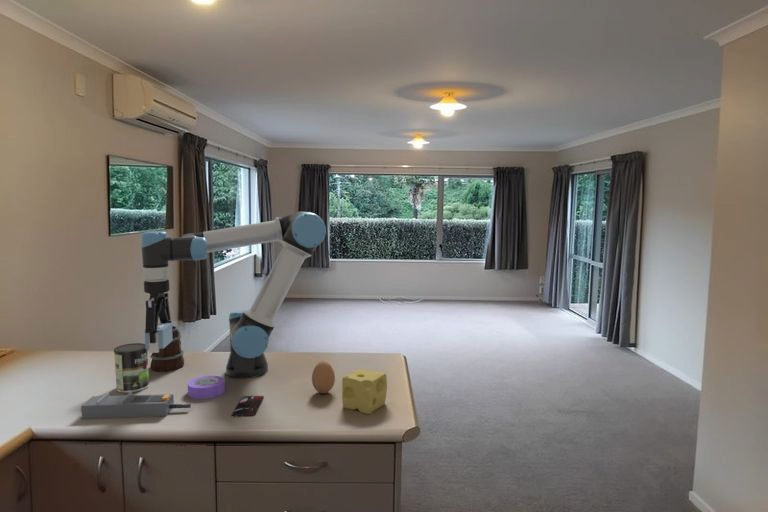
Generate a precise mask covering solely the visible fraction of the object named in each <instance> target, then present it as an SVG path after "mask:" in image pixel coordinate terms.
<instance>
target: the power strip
mask: <svg viewBox="0 0 768 512" xmlns="http://www.w3.org/2000/svg"><path fill="white" fill-rule="evenodd" d="M174 400H175V398H174V394H173V393H171V394H170V393H168V394H166V393H165V394H163V393H162V394H160V393H159V394H135V395H133V392H130V393H127V394H126V395H110V392H107V393H105V394H103V396H102V395H96V396H93V395H92V396H91V397H90V398H88V399H87V400H86V401H85V402H84V403H83V404H82V405H80V407H81V408H80V409H81V411H80V412H81V420H84V419H85V420H90V419H94V420H95V419H118V418H120V419H123V418H147V417H149V418H150V417H153V418H154V417H167V416H168V415H169V414H170V412H171V411H172V410H173V409H191V407H192V403H175V401H174Z"/></svg>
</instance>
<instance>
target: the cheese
mask: <svg viewBox="0 0 768 512" xmlns="http://www.w3.org/2000/svg"><path fill="white" fill-rule="evenodd" d="M387 377H388V376H387V374H386V373H385V372H379V371H372V370H369V369H368V370H367V369H364V368H358V369H356V370H354V371H353V372H351V373H350V374H346V375H345V376H343V377H342V380H341V381H342V382H341V384H342V385H341V386H342V387H341V388H342V389H341V390H342V391H341V393H342V397H341V399H342V401H341V402H342V407H343V408H346V409H348V410H353V411H355V410H359V412H360V413H363V414H365V415H370V414H372V413H373V412H374V411H376V410H377V409H379V408H380V407H383V406H384V405H385V404H386V400H387V399H386V398H387V392H388V391H387V389H388V380H387Z"/></svg>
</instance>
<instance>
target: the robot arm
mask: <svg viewBox="0 0 768 512" xmlns="http://www.w3.org/2000/svg"><path fill="white" fill-rule="evenodd" d="M326 227H327V226H326V224H325V222H324V220H323V219H322V217H320V216H319V215H318V214H316V213H313V212H311V211H304V210H301V211H297V212H293V213H290V214H287V215H282V216H277V217H275V219H274V220H269V221H262V222H257V223H249V224H243V225H239V226H233V227H225V228H219V229H213V230H208V231H207V230H206V231H203V232H195V233H191V232H190V233H184V234H183V235H181V236H180V237H169V236H168V233H167V232H166V231H159V230H157V231H156V230H155V231H145V232H143V233H142V234H141V254H142V255H141V256H142V270H141V272H142V273H143V280H144V281H143V292H144V293H146V294H149V298H148V300H145V330H144V334H145V333H149V349H148V350H149V354H152V353H159V337H158V332H157V326H158V323H172V320H171V319H172V317H171V310H170V302H169V293H168V292H169V291H170V289H171V288H170V280H169V278H170V269H169V266H170V265H169V262H174V261H175V262H176V261H195V262H196V261H197V262H198V261H201V260H202V261H203V260H204V261H205V260H207V257H208V253H214V252H220V251H225V250H226V251H227V250H231V249H237V248H242V247H243V248H244V247H248V246H257V245H261V244H267V243H273V242H278V243H281V244H282V248H281V251H280V252H279V254H278V255H277V258H276V260H275V262H274V263H273V266H272V268H271V269H270V271H269V273H268V274H267V277H266V278H265V280H264V282H263V284H262V286H261V288H260V290H259V292H258V294H257V296H256V298H255V300H253V301H254V302H253V303H252V305H251V307H250V308H249V309H244V310H243V309H242V310H235V311H232V312H230V313H229V317H228V322H229V323H228V325H229V345H230V346H229V348H230V349H229V350H230V352H229V356H228V358H227V362H226V366H225V374H226V375H227V376H228V377H231V378H235V379H247V378H249V379H250V378H256V377H259V376H262V375H264V374H266V373H267V372H268V371H269V362H268V361H267V358H266V356H265V351H266V350H267V348H268V346H269V342H270V341H269V340H270V339H269V338H270V336H271V334H272V332H273V330H274V328H275V327H276V326H275V325H276V324H275V321H274V318H275V317H276V315H277V313H278V312H279V309H280V307H281V306H282V304H283V302H284V300H285V299H286V297H287V294H288V293H289V290H290V288H291V287H292V284H293V283H294V281H295V280H296V276H297V275H298V273H299V271H300V269H301V267H302V265H303V263H304V261H305V260H306V259H307V258H311V257H312V256H313V253H314V252H315V251H316V249H317V247H318V246H319V245H320V244H322V243H323V241H324V240H325V237H326V234H327V228H326ZM151 328H152V329H151Z"/></svg>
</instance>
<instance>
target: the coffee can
mask: <svg viewBox="0 0 768 512" xmlns="http://www.w3.org/2000/svg"><path fill="white" fill-rule="evenodd" d="M113 353H114V355H113V356H114V367H115V383H116V387H115V388H116V389H115V390H116V392H119V393H123V394H124V393H125V394H126V393H127V394H129V393H130V392H132V393H136V392H141V391H143V390H145V389H148V388H149V387H150V373H149V356H148V349H146V347H145V343H141V342H139V343H137V342H134V343H126V344H122V345H118V346H115V348H113Z"/></svg>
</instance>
